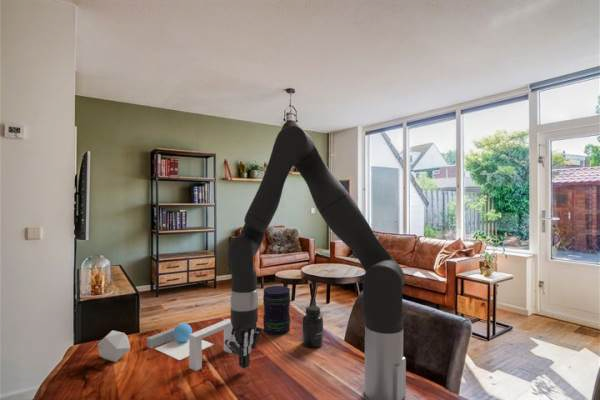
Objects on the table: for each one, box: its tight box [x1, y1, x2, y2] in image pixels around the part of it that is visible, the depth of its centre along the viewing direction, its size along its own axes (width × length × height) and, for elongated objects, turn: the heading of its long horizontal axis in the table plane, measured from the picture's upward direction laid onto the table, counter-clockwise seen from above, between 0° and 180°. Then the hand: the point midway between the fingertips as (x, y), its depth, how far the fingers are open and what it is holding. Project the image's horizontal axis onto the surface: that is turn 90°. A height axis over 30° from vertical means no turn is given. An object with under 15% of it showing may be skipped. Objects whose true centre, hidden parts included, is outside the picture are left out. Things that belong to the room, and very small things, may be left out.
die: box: [97, 330, 131, 363], centre depth 103 cm, size 8×9×10 cm
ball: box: [173, 322, 193, 342], centre depth 115 cm, size 6×6×6 cm
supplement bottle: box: [302, 305, 324, 349], centre depth 113 cm, size 7×7×12 cm
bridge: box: [188, 318, 233, 372], centre depth 103 cm, size 3×15×10 cm, turn 145°
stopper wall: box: [146, 326, 177, 349], centre depth 116 cm, size 2×14×3 cm, turn 145°
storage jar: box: [262, 285, 291, 337], centre depth 124 cm, size 10×10×15 cm
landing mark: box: [154, 339, 214, 361], centre depth 111 cm, size 13×13×1 cm
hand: (244, 366), depth 95 cm, fingers closed
